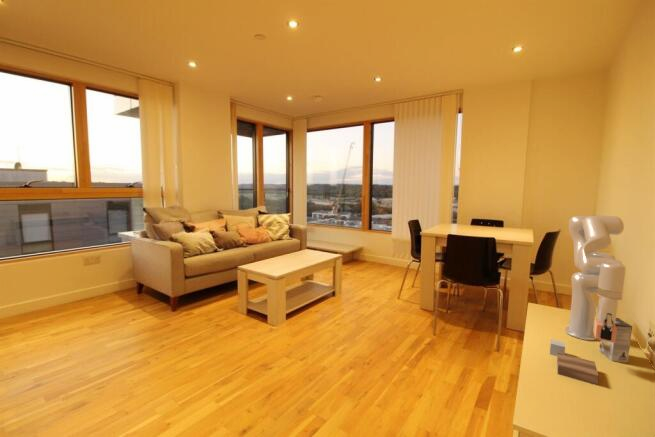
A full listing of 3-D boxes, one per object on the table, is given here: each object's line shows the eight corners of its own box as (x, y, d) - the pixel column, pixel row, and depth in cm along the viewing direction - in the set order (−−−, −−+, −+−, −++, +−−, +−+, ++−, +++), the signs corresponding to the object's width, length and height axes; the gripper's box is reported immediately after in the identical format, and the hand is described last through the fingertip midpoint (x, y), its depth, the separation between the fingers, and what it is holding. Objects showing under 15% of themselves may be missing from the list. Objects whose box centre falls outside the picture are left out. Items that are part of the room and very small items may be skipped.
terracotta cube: (593, 332, 134) (595, 319, 133) (612, 336, 131) (614, 323, 130) (595, 338, 129) (597, 324, 128) (615, 343, 126) (616, 328, 125)
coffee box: (597, 350, 143) (601, 316, 142) (614, 352, 142) (618, 317, 141) (611, 361, 134) (615, 324, 133) (629, 363, 133) (633, 326, 132)
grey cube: (549, 349, 143) (550, 339, 143) (563, 353, 140) (564, 342, 140) (549, 354, 139) (550, 343, 139) (563, 358, 136) (565, 347, 136)
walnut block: (556, 361, 134) (557, 352, 134) (593, 371, 127) (594, 361, 127) (557, 375, 124) (558, 365, 124) (597, 386, 118) (598, 376, 117)
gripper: (595, 285, 137) (590, 325, 139) (600, 297, 123) (594, 341, 125) (618, 289, 132) (613, 330, 135) (626, 302, 118) (620, 347, 121)
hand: (604, 335), depth 130 cm, fingers closed on terracotta cube, 6 cm apart
